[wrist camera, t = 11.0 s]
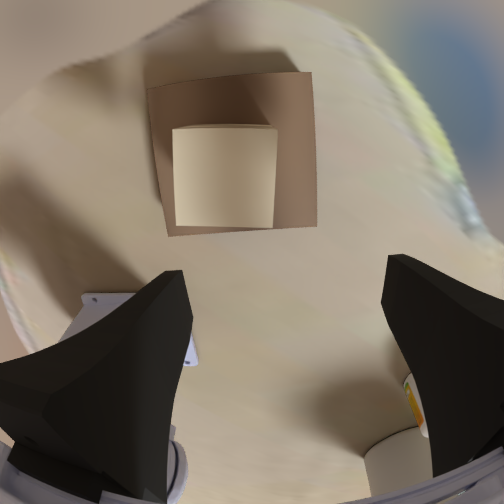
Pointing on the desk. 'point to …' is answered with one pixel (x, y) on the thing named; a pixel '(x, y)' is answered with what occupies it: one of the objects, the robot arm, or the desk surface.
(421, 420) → the supplement bottle
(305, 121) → the walnut block
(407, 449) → the cylinder vase
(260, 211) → the maple block
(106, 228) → the desk surface
